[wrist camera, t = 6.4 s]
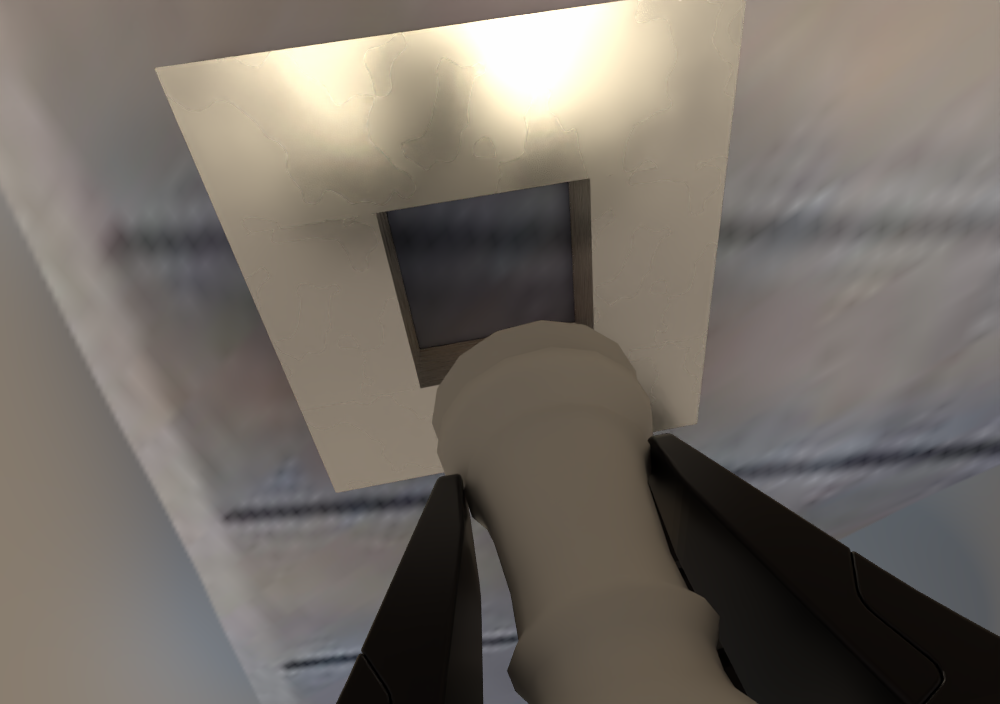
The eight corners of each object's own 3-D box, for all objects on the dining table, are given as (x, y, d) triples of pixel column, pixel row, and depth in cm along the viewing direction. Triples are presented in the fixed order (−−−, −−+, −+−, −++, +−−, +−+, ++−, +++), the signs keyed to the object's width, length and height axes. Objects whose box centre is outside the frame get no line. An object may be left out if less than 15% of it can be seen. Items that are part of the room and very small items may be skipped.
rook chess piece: (668, 342, 11) (1069, 827, 4) (577, 487, 13) (752, 976, 6) (473, 280, 10) (610, 853, 3) (405, 453, 12) (388, 1035, 5)
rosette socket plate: (669, 386, 22) (696, 423, 20) (343, 447, 21) (335, 492, 19) (699, -11, 14) (747, -17, 12) (194, 62, 14) (153, 68, 12)
